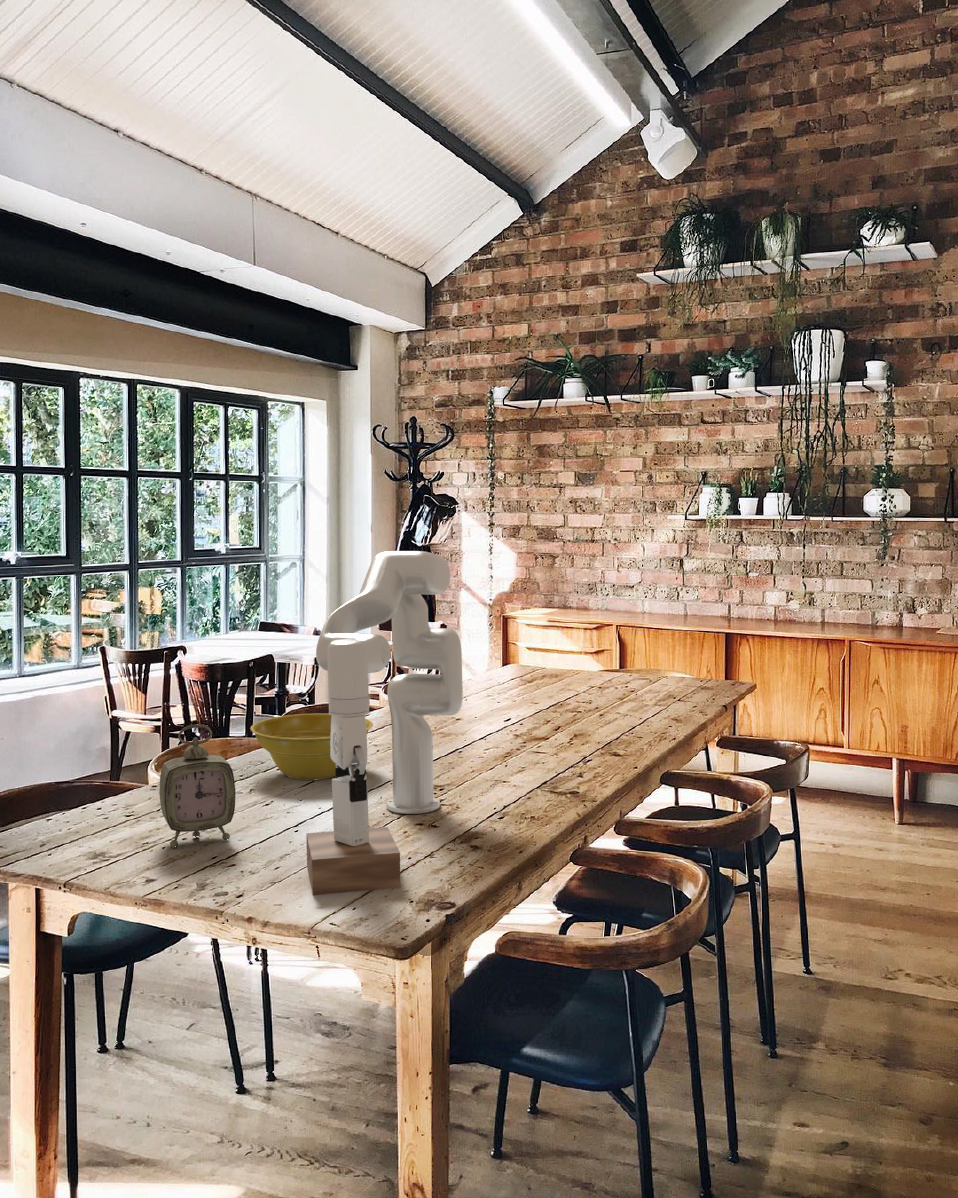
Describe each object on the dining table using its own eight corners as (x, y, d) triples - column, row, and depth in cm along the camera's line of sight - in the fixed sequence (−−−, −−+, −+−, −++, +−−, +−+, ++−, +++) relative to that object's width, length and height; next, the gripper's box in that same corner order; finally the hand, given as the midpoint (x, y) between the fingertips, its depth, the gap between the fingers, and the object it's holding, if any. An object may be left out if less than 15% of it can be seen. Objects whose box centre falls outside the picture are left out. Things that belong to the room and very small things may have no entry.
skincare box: (370, 842, 193) (370, 779, 192) (351, 848, 190) (351, 784, 189) (349, 835, 197) (349, 774, 196) (331, 840, 194) (331, 778, 193)
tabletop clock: (166, 852, 209) (162, 731, 207) (159, 839, 217) (155, 723, 215) (236, 842, 215) (233, 725, 213) (228, 830, 223) (225, 717, 221)
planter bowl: (395, 777, 268) (394, 727, 267) (281, 796, 250) (279, 742, 249) (340, 754, 294) (339, 708, 293) (233, 770, 276) (232, 721, 275)
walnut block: (307, 868, 199) (306, 833, 199) (388, 861, 203) (387, 827, 203) (312, 897, 184) (312, 859, 183) (400, 889, 188) (400, 852, 187)
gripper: (318, 698, 198) (320, 784, 200) (341, 716, 182) (344, 809, 184) (355, 695, 201) (357, 780, 202) (381, 712, 185) (383, 804, 187)
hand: (351, 794), depth 193 cm, fingers open, 9 cm apart
